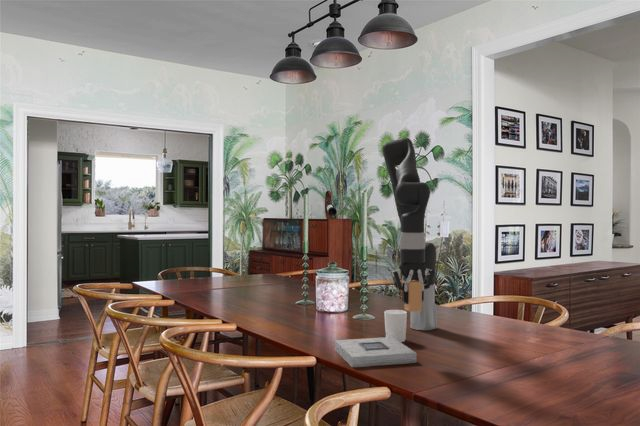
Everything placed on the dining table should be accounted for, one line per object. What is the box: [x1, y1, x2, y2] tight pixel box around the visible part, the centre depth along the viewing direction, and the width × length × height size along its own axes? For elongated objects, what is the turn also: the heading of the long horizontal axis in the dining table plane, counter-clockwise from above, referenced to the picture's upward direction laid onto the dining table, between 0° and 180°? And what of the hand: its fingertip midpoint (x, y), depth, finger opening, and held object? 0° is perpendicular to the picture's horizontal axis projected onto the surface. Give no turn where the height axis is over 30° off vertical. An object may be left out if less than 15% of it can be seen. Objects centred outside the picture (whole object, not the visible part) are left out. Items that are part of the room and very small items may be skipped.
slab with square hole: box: [334, 336, 417, 368], centre depth 159 cm, size 20×20×3 cm
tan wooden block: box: [403, 280, 422, 312], centre depth 156 cm, size 4×4×9 cm
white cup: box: [383, 309, 408, 343], centre depth 179 cm, size 8×8×10 cm
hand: (412, 302), depth 156 cm, fingers closed on tan wooden block, 4 cm apart
